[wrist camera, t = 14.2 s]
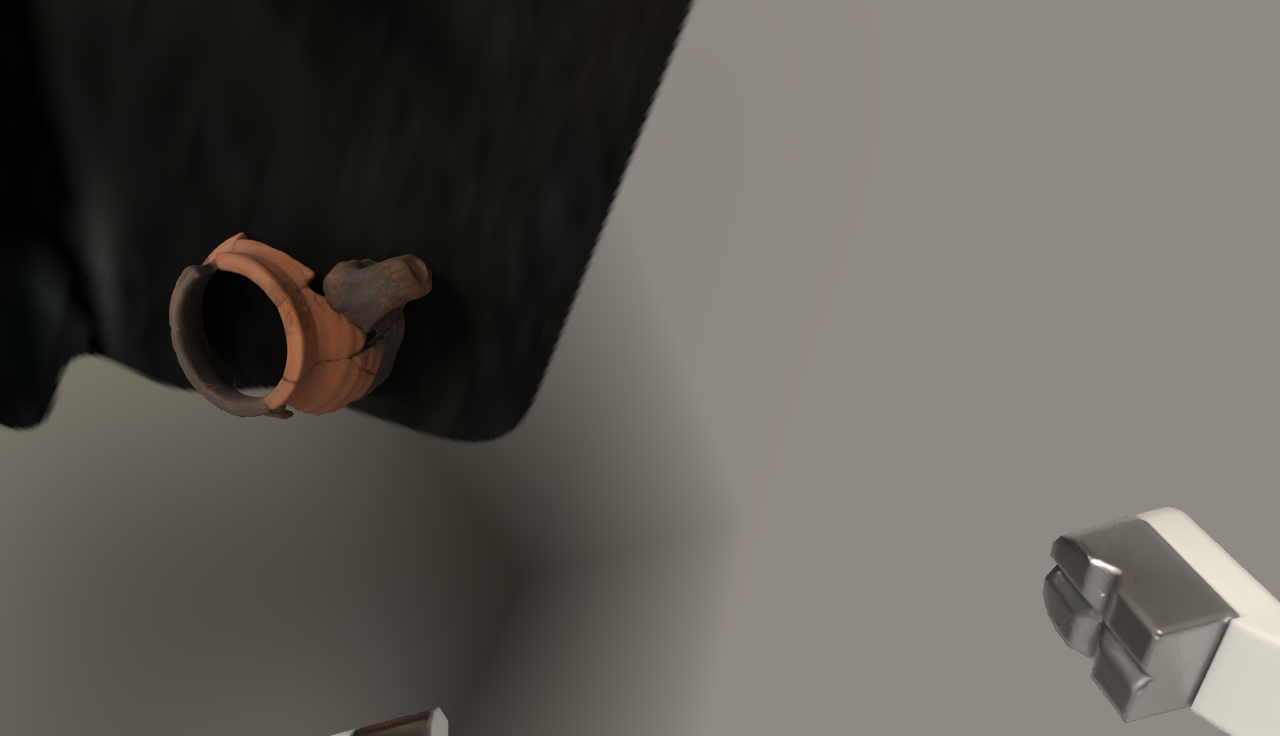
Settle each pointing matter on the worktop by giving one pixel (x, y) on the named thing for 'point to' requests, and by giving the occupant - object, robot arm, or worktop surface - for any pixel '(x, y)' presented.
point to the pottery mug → (303, 327)
